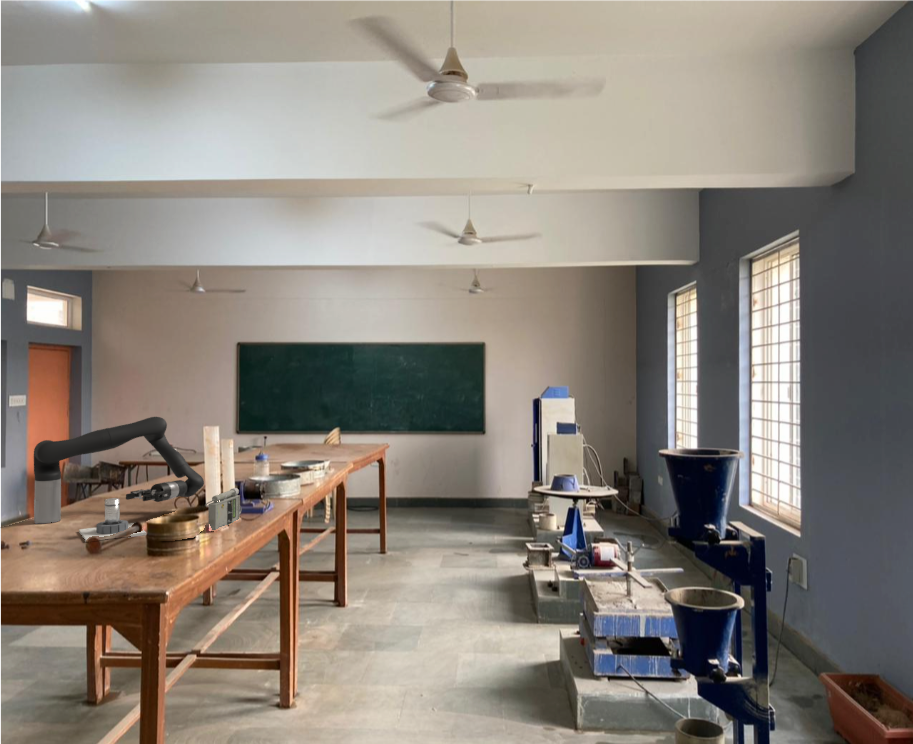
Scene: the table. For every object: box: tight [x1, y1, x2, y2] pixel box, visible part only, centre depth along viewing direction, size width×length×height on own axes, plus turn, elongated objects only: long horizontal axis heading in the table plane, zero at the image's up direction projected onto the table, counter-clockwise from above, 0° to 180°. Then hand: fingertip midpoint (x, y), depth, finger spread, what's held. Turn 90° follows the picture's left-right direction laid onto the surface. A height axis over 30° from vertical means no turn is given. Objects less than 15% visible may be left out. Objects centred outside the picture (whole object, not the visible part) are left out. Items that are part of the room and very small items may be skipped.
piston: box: [104, 497, 121, 525], centre depth 255 cm, size 5×5×12 cm
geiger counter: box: [204, 487, 242, 530], centre depth 270 cm, size 14×6×25 cm
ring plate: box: [78, 519, 147, 542], centre depth 255 cm, size 20×20×4 cm
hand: (134, 497), depth 266 cm, fingers open, 8 cm apart
